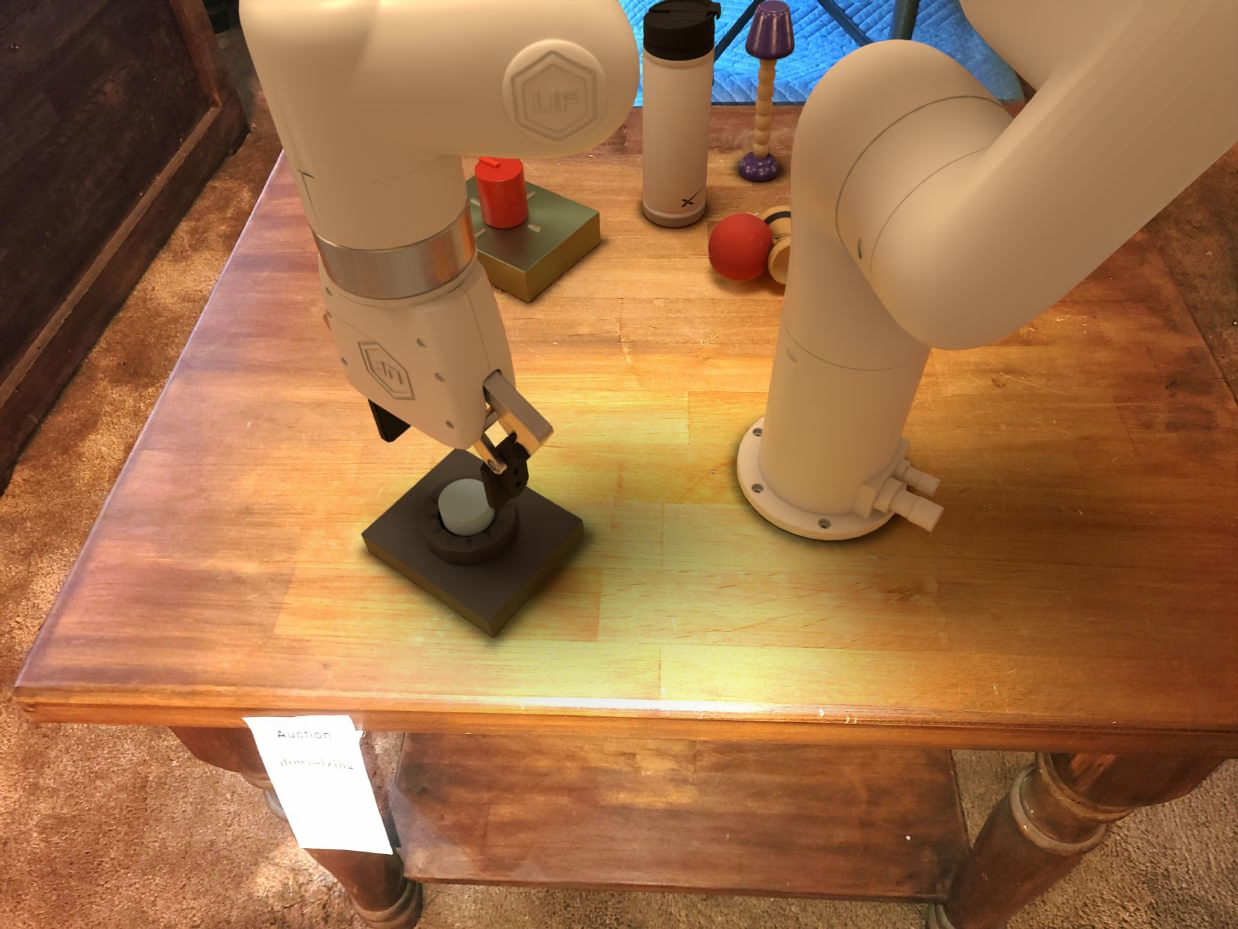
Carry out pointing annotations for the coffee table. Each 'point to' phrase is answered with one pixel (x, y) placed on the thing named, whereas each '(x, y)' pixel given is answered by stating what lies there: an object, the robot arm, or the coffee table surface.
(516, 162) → the tap knob
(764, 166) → the toy lamp
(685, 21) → the travel mug
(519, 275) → the panel
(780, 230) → the kendama
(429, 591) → the button box
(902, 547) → the coffee table surface
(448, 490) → the button
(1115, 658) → the coffee table surface
